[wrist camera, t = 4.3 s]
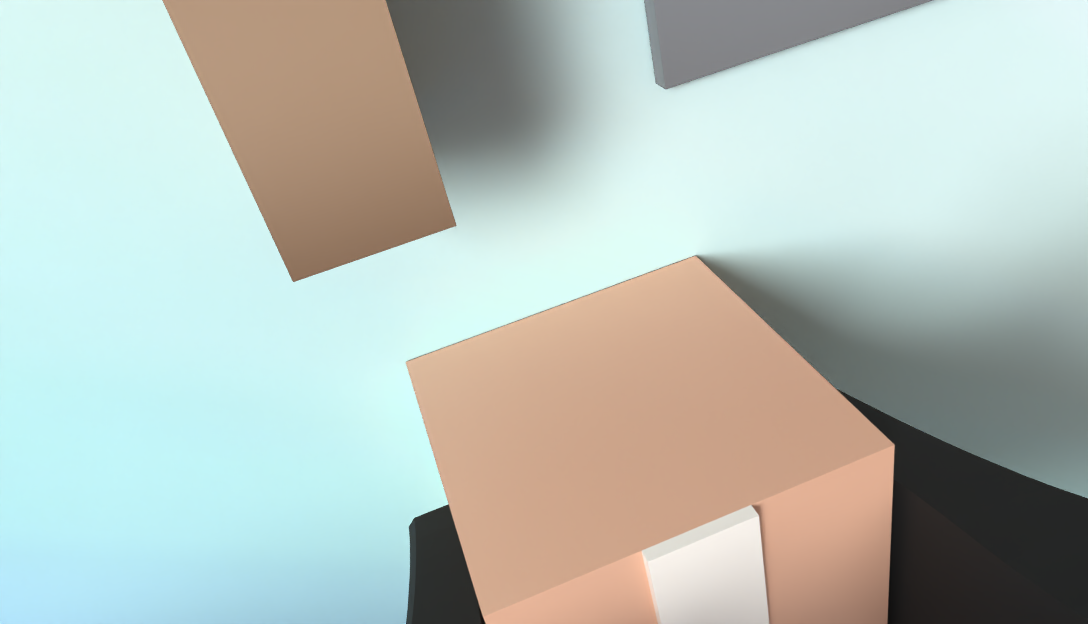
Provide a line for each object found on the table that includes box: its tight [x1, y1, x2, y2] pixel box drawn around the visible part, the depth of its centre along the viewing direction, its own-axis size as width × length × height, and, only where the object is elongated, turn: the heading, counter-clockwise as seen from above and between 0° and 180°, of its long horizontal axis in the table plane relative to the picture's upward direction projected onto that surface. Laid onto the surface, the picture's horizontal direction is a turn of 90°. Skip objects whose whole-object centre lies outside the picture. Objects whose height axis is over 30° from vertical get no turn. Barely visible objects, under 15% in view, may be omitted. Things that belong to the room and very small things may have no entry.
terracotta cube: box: [406, 256, 895, 624], centre depth 11 cm, size 4×4×5 cm
